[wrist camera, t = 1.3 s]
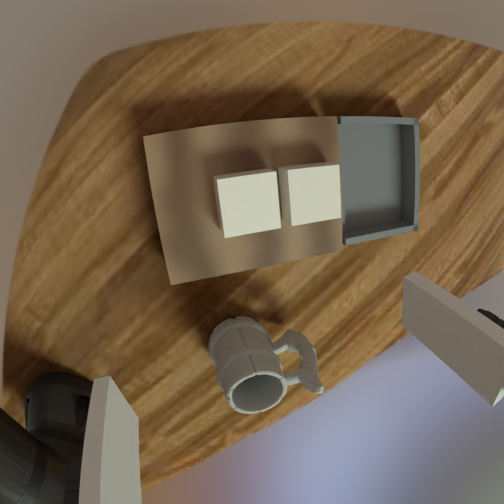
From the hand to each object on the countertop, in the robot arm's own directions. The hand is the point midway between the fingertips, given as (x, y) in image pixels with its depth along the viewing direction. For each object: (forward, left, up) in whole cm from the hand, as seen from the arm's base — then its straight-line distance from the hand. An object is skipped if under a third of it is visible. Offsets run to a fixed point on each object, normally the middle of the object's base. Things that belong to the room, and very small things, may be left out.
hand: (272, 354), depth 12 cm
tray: (+20, +2, -22) cm, 30 cm away
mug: (+3, -16, -23) cm, 28 cm away
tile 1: (+9, +2, -18) cm, 21 cm away
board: (+4, +2, -22) cm, 23 cm away
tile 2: (+3, +2, -18) cm, 19 cm away
